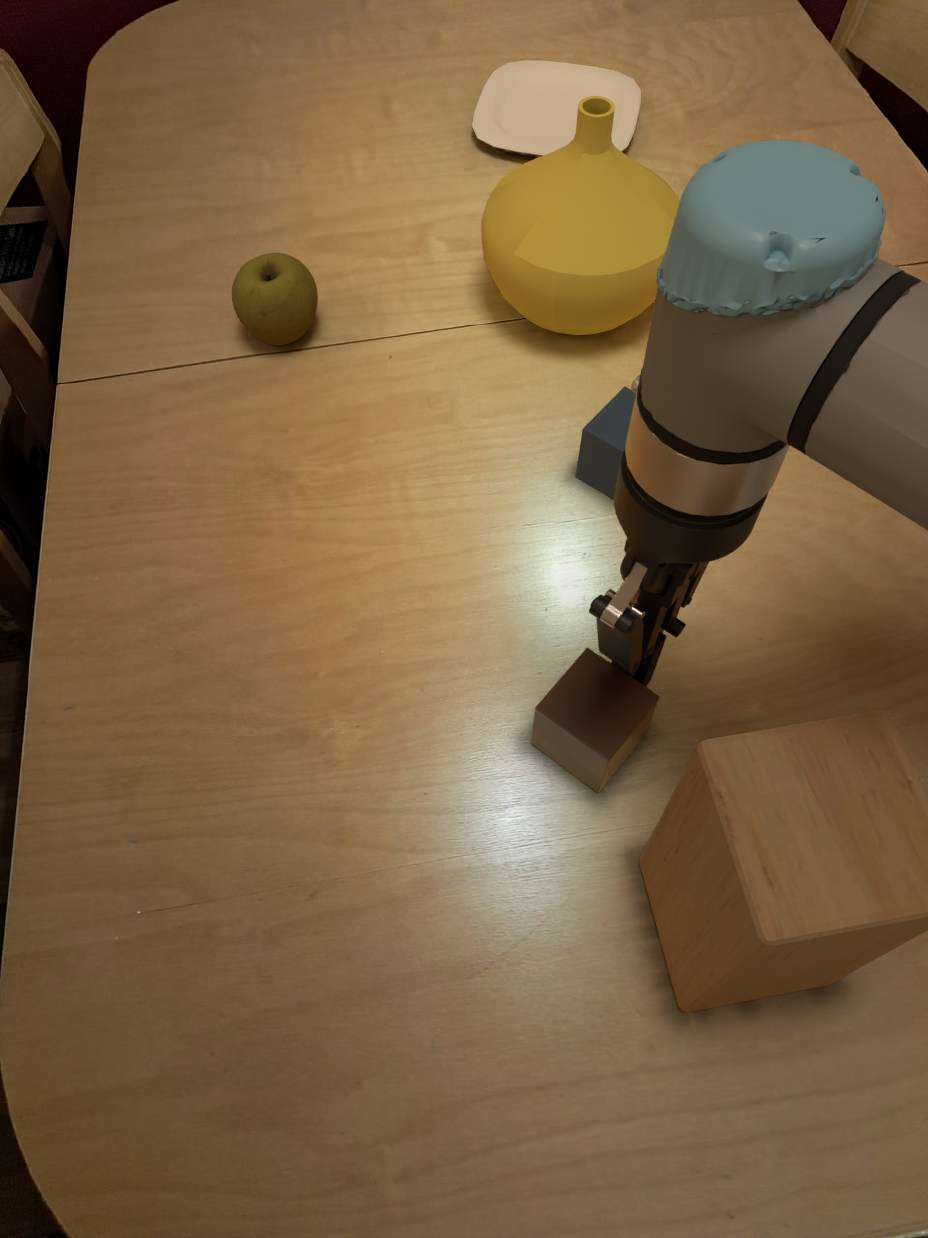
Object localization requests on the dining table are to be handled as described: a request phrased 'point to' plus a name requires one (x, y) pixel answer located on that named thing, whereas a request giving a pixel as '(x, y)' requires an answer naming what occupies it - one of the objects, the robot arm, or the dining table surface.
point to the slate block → (605, 443)
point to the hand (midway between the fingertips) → (629, 677)
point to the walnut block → (592, 719)
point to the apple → (275, 298)
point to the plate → (549, 105)
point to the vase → (579, 231)
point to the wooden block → (788, 859)
